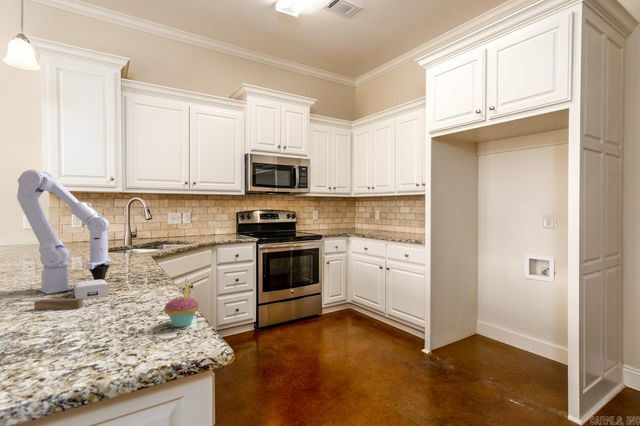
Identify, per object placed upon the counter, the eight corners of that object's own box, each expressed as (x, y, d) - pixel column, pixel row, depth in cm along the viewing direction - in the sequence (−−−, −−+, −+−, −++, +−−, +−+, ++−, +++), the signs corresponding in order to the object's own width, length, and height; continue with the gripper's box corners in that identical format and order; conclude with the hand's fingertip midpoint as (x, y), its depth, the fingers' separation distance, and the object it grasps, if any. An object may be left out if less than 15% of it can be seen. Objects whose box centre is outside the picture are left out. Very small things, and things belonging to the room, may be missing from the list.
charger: (102, 288, 128) (108, 296, 116) (72, 292, 122) (75, 301, 110) (102, 276, 128) (108, 283, 116) (72, 279, 122) (75, 287, 110)
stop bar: (39, 307, 103) (39, 299, 103) (82, 306, 105) (82, 298, 105) (34, 310, 101) (34, 301, 101) (78, 308, 103) (78, 300, 103)
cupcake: (205, 320, 93) (205, 277, 92) (183, 331, 85) (183, 284, 84) (180, 317, 96) (180, 275, 95) (156, 327, 88) (156, 281, 87)
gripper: (101, 251, 121) (101, 288, 121) (118, 246, 135) (118, 279, 136) (79, 251, 120) (80, 289, 120) (99, 246, 134) (99, 280, 135)
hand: (99, 284), depth 128 cm, fingers closed
